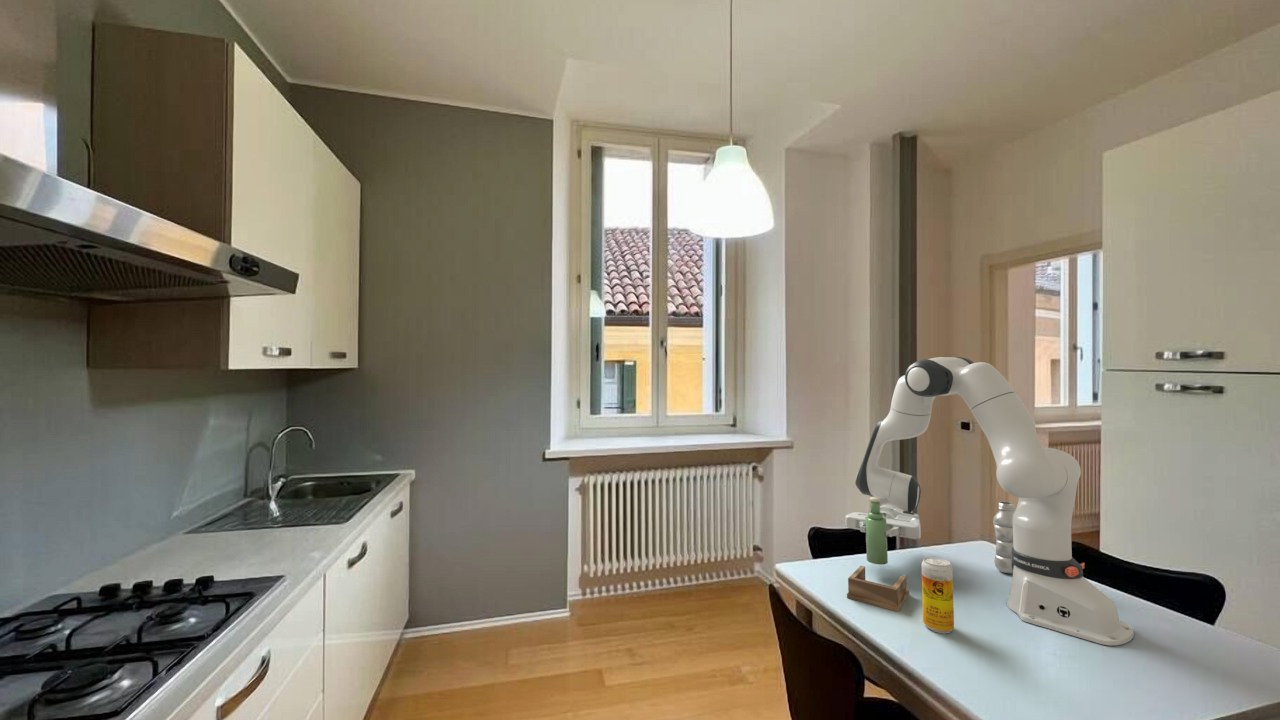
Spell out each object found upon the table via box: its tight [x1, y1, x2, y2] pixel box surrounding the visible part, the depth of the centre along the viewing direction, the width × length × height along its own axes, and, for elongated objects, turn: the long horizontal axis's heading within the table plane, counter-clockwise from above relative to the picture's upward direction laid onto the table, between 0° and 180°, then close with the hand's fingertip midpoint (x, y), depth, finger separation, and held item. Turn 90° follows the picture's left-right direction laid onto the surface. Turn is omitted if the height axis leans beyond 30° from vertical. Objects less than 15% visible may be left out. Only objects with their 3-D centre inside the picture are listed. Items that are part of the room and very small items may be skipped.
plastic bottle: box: [992, 501, 1016, 575], centre depth 144 cm, size 6×7×20 cm
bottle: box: [865, 496, 889, 566], centre depth 142 cm, size 5×5×18 cm
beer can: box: [921, 556, 955, 634], centre depth 114 cm, size 6×6×15 cm
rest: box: [846, 565, 910, 612], centre depth 130 cm, size 12×12×5 cm
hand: (875, 531), depth 141 cm, fingers closed on bottle, 5 cm apart
